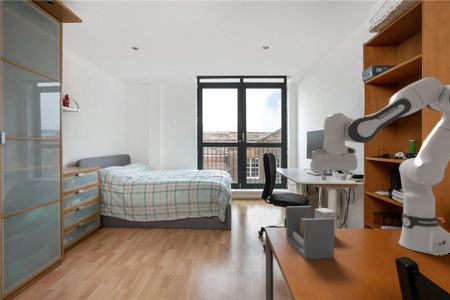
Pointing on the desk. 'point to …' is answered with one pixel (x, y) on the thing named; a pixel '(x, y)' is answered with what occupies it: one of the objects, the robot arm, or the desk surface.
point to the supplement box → (326, 215)
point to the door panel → (302, 226)
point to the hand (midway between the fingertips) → (333, 180)
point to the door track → (310, 233)
